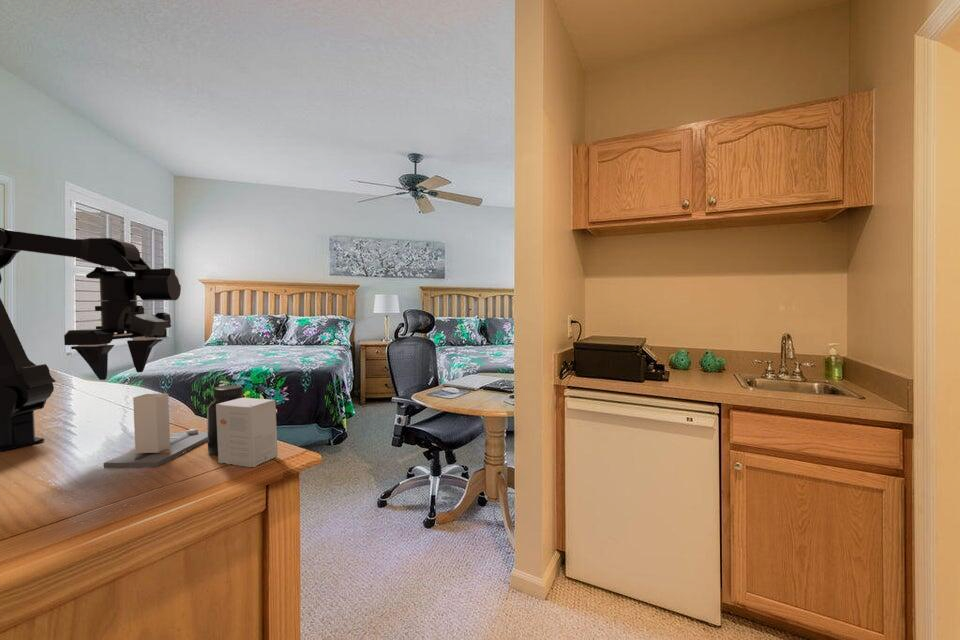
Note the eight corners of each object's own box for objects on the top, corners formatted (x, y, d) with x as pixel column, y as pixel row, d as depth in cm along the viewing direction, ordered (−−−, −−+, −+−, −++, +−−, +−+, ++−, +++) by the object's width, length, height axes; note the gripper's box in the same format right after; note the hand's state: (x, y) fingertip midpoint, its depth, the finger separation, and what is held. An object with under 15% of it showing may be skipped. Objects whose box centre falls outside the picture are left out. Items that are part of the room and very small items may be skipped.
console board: (174, 436, 88) (174, 428, 88) (217, 435, 88) (217, 428, 88) (103, 467, 71) (103, 458, 71) (157, 466, 71) (156, 457, 71)
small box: (278, 457, 75) (276, 399, 75) (252, 468, 70) (250, 406, 70) (244, 452, 78) (243, 396, 77) (217, 463, 73) (215, 403, 72)
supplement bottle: (230, 457, 75) (228, 391, 75) (198, 455, 77) (196, 390, 76) (258, 444, 82) (256, 384, 82) (228, 442, 83) (226, 383, 83)
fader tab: (148, 447, 77) (146, 393, 77) (170, 446, 78) (168, 393, 77) (135, 452, 74) (133, 397, 74) (158, 452, 75) (156, 397, 74)
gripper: (120, 300, 77) (124, 383, 78) (189, 300, 96) (191, 368, 96) (59, 300, 77) (63, 384, 77) (139, 301, 96) (142, 369, 96)
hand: (122, 375), depth 87 cm, fingers open, 9 cm apart
